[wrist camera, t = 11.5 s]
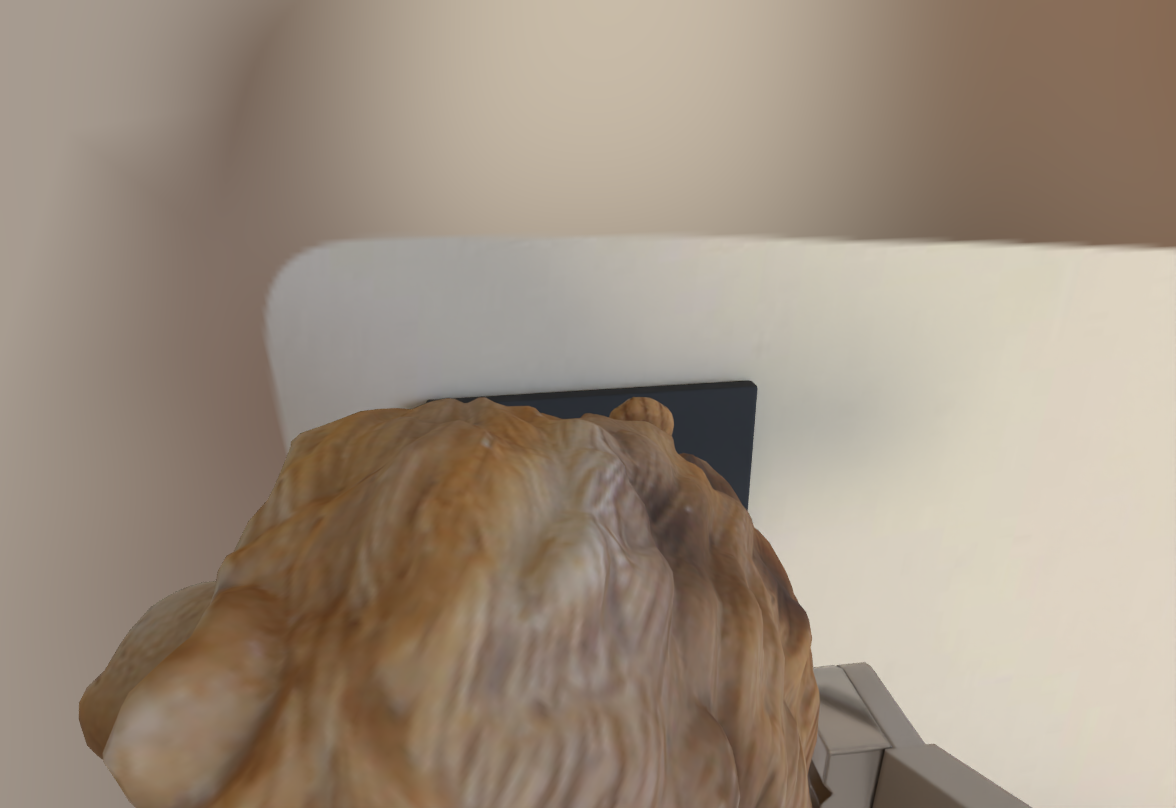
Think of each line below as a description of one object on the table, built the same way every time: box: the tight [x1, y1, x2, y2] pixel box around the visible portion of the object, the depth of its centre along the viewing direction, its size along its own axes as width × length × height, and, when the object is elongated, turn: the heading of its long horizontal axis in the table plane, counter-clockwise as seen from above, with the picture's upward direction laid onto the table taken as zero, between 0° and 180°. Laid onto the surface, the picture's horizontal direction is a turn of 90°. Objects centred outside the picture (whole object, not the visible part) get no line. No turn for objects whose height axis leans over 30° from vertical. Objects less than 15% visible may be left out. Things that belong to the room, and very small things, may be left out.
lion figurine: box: [79, 397, 820, 808], centre depth 8 cm, size 15×5×9 cm, turn 29°
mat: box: [427, 381, 757, 511], centre depth 18 cm, size 10×6×1 cm, turn 92°
